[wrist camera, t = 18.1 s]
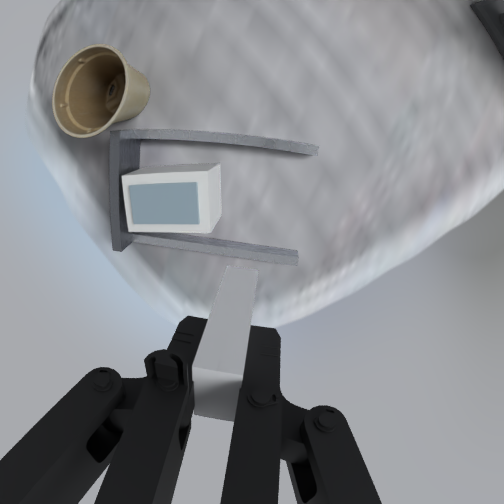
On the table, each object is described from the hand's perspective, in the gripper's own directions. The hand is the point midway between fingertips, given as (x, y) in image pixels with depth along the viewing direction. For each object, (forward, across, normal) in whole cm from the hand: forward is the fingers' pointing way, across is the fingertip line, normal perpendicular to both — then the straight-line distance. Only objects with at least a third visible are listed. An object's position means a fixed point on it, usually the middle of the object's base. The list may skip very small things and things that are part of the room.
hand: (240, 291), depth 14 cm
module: (+20, -9, 0) cm, 22 cm away
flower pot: (+20, -17, +11) cm, 28 cm away
